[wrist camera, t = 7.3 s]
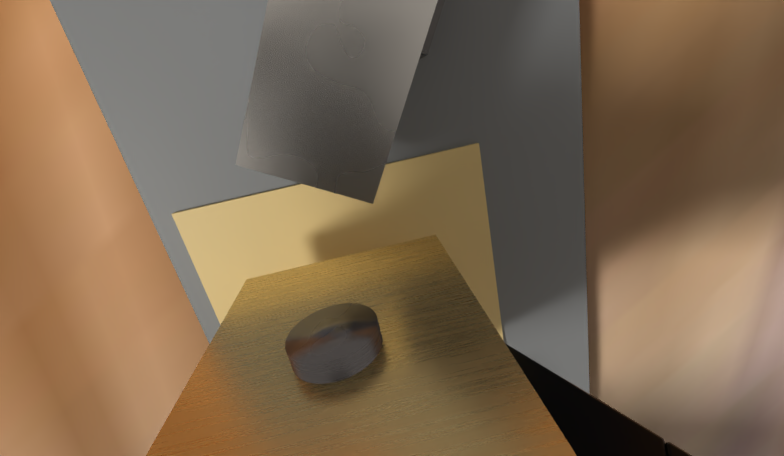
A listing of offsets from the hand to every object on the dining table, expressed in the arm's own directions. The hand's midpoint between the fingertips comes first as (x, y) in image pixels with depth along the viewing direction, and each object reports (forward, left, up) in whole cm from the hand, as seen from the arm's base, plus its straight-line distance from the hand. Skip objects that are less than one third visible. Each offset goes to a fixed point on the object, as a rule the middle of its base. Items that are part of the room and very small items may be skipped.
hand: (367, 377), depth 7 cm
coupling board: (0, -1, -3) cm, 3 cm away
